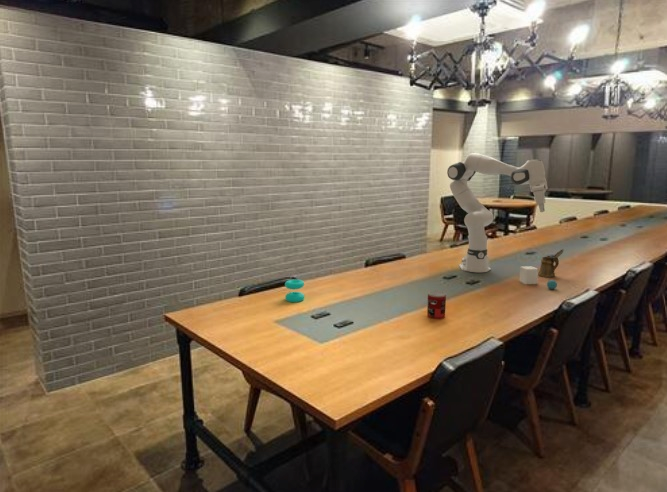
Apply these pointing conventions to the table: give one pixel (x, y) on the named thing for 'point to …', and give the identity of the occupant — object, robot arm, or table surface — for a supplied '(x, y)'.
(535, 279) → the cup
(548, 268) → the wooden mug
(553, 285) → the ball
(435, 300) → the canned food
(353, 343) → the table surface
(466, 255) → the robot arm
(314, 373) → the table surface
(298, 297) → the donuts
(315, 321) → the table surface
